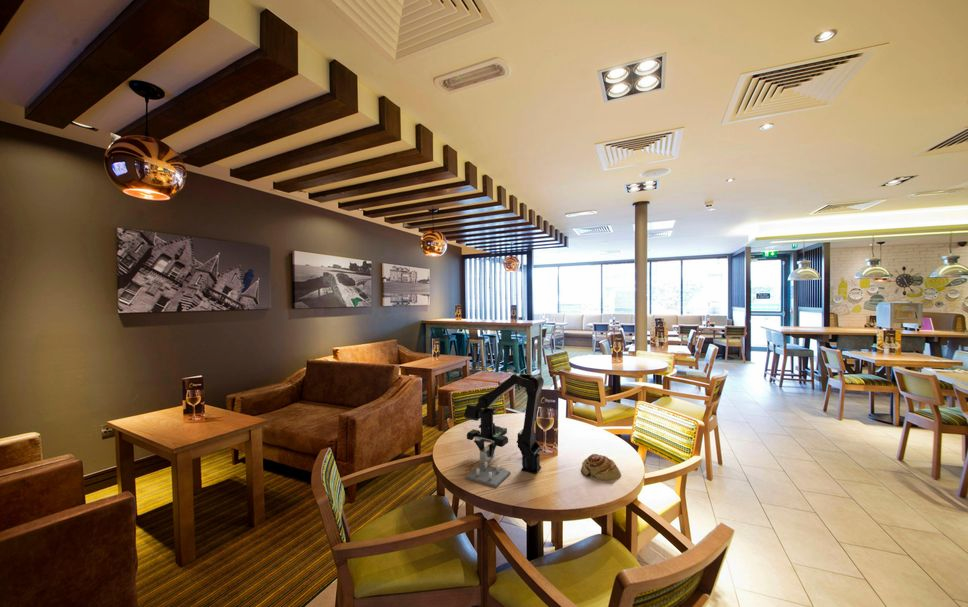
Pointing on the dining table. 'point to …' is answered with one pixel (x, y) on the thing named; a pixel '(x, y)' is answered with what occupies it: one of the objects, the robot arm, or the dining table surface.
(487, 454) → the block
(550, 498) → the dining table surface
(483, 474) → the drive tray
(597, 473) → the pastry
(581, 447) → the dining table surface
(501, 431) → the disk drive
